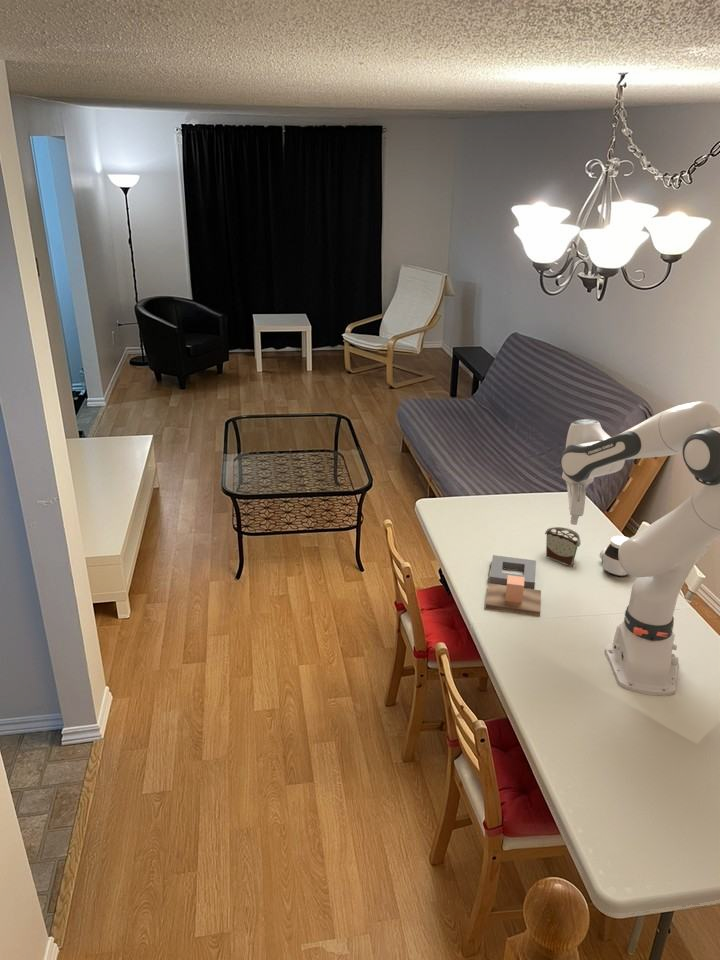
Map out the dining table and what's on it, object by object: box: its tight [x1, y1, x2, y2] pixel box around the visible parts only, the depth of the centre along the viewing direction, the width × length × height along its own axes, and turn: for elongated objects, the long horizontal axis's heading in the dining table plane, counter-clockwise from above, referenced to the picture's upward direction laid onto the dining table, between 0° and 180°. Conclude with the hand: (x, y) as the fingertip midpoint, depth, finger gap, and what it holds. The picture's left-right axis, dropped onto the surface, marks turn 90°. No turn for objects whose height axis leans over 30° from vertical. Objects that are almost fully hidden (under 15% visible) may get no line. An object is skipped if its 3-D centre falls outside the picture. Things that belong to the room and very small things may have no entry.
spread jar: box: [599, 535, 630, 578], centre depth 240 cm, size 12×11×12 cm
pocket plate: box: [488, 554, 537, 590], centre depth 237 cm, size 14×14×2 cm
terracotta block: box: [505, 575, 525, 603], centre depth 222 cm, size 5×5×6 cm
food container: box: [544, 526, 582, 567], centre depth 246 cm, size 12×6×10 cm, turn 47°
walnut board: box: [484, 582, 542, 617], centre depth 223 cm, size 12×16×2 cm
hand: (572, 516), depth 217 cm, fingers open, 8 cm apart
